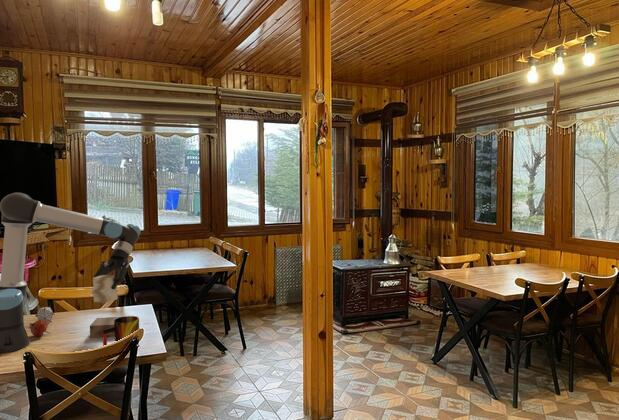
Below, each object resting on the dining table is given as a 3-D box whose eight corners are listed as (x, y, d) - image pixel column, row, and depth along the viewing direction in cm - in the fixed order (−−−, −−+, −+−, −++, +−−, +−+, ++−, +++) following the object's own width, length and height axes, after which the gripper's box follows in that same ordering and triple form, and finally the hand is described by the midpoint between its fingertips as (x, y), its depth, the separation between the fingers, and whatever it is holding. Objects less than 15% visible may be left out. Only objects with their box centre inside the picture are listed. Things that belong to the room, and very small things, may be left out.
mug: (102, 354, 186) (101, 325, 185) (125, 342, 199) (124, 315, 198) (123, 356, 183) (122, 326, 183) (144, 344, 197) (143, 316, 196)
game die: (47, 330, 227) (46, 317, 222) (31, 324, 227) (29, 311, 222) (59, 317, 235) (58, 304, 229) (43, 311, 235) (42, 298, 229)
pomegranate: (45, 336, 214) (24, 327, 209) (55, 323, 215) (35, 313, 210) (45, 343, 207) (23, 333, 203) (56, 329, 209) (35, 319, 204)
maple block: (94, 302, 207) (92, 277, 207) (104, 298, 214) (103, 274, 213) (107, 302, 206) (106, 278, 205) (117, 298, 213) (116, 275, 212)
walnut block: (90, 339, 205) (89, 325, 204) (97, 330, 216) (96, 317, 216) (118, 337, 207) (118, 324, 206) (124, 328, 219) (124, 316, 218)
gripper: (143, 257, 221) (123, 300, 207) (107, 256, 226) (85, 298, 211) (136, 248, 216) (115, 291, 201) (99, 247, 221) (76, 289, 206)
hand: (100, 294), depth 206 cm, fingers closed on maple block, 7 cm apart
